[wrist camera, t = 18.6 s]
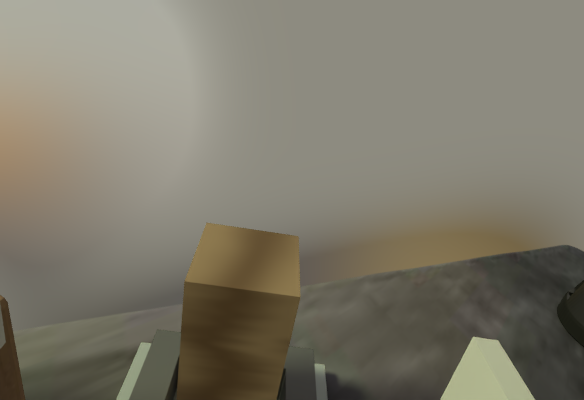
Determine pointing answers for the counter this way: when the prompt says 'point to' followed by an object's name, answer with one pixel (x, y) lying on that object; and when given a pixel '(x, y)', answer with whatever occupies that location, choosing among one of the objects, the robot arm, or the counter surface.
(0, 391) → the wooden block
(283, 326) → the walnut peg
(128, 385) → the socket board
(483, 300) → the counter surface
